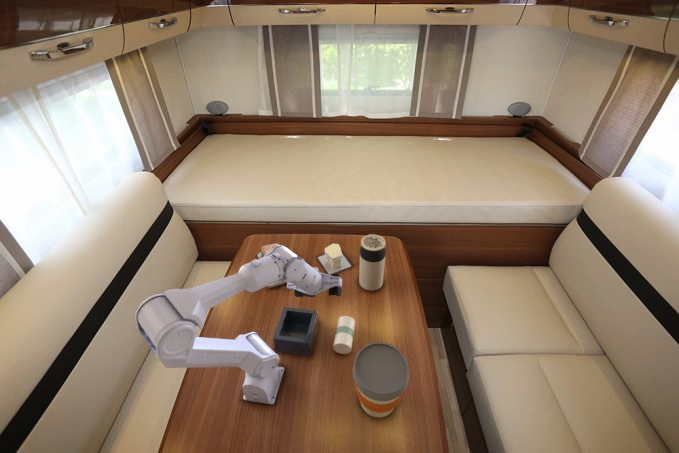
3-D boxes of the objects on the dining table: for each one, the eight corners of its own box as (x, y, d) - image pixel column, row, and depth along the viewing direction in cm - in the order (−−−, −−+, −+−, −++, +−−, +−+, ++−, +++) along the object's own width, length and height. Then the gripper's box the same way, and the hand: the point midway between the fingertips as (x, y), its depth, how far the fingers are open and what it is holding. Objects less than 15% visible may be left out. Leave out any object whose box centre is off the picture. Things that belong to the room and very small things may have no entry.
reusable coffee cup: (350, 375, 87) (349, 342, 77) (397, 372, 87) (403, 338, 78) (355, 428, 77) (355, 397, 68) (408, 423, 77) (416, 392, 68)
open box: (310, 355, 91) (309, 343, 88) (275, 350, 93) (272, 338, 89) (318, 323, 100) (317, 310, 96) (286, 319, 101) (284, 306, 97)
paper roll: (351, 355, 91) (351, 344, 88) (333, 352, 92) (332, 342, 89) (355, 327, 98) (355, 316, 95) (338, 325, 99) (338, 314, 96)
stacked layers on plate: (351, 266, 118) (351, 254, 115) (329, 274, 115) (328, 263, 112) (339, 249, 125) (338, 238, 122) (317, 257, 122) (316, 246, 119)
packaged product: (255, 246, 121) (281, 239, 124) (257, 255, 124) (283, 248, 126) (265, 279, 107) (295, 271, 110) (268, 289, 110) (296, 281, 113)
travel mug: (370, 295, 108) (372, 254, 97) (354, 281, 113) (354, 241, 102) (387, 283, 112) (391, 242, 101) (371, 270, 117) (373, 230, 105)
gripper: (333, 258, 78) (352, 277, 89) (280, 263, 83) (304, 280, 95) (331, 287, 75) (351, 303, 86) (276, 290, 80) (302, 304, 91)
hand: (327, 292), depth 90 cm, fingers open, 7 cm apart
